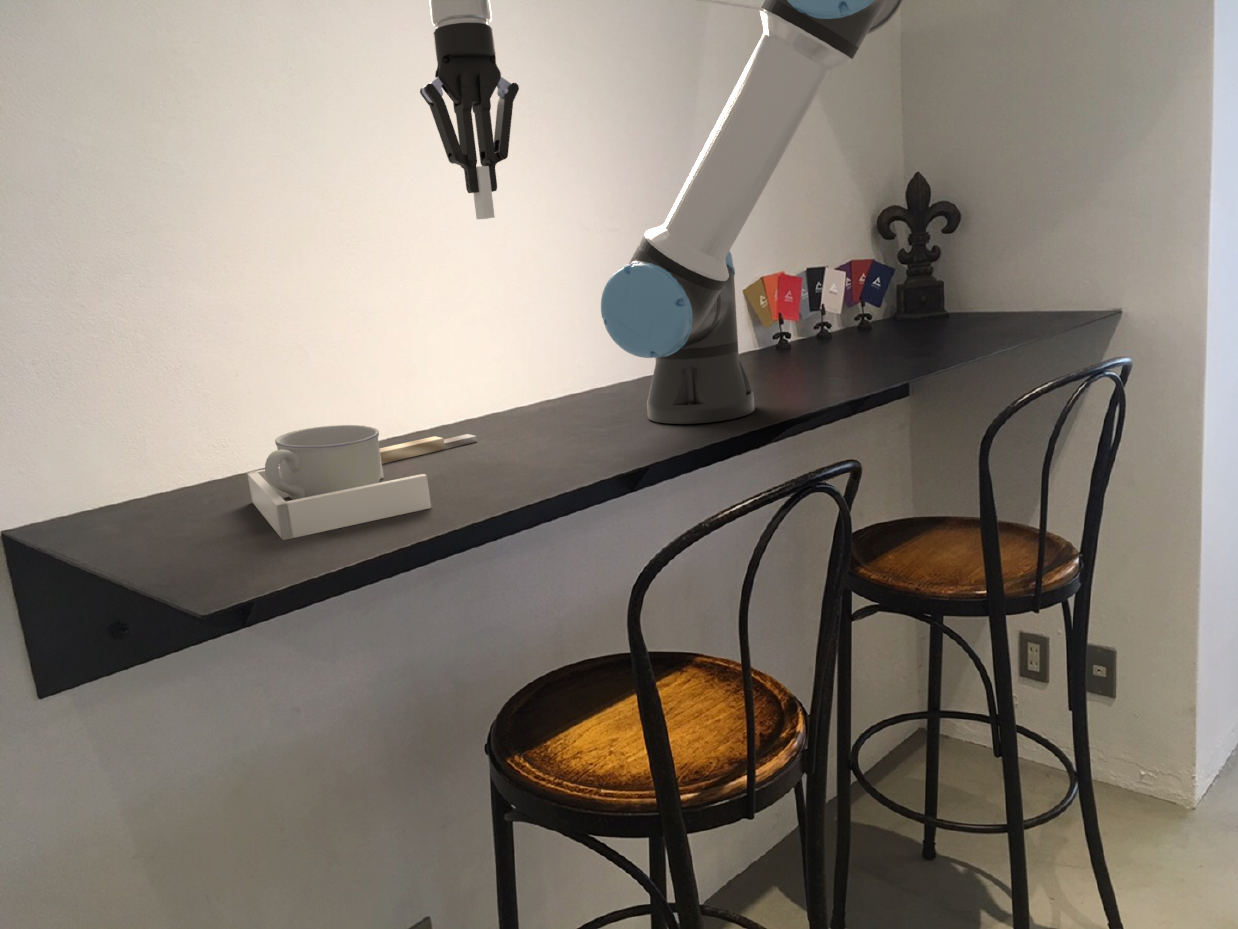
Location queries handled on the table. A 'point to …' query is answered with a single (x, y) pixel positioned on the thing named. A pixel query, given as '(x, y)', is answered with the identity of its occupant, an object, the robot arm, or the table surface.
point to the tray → (337, 504)
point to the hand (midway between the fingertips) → (485, 218)
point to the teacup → (324, 460)
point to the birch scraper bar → (423, 447)
